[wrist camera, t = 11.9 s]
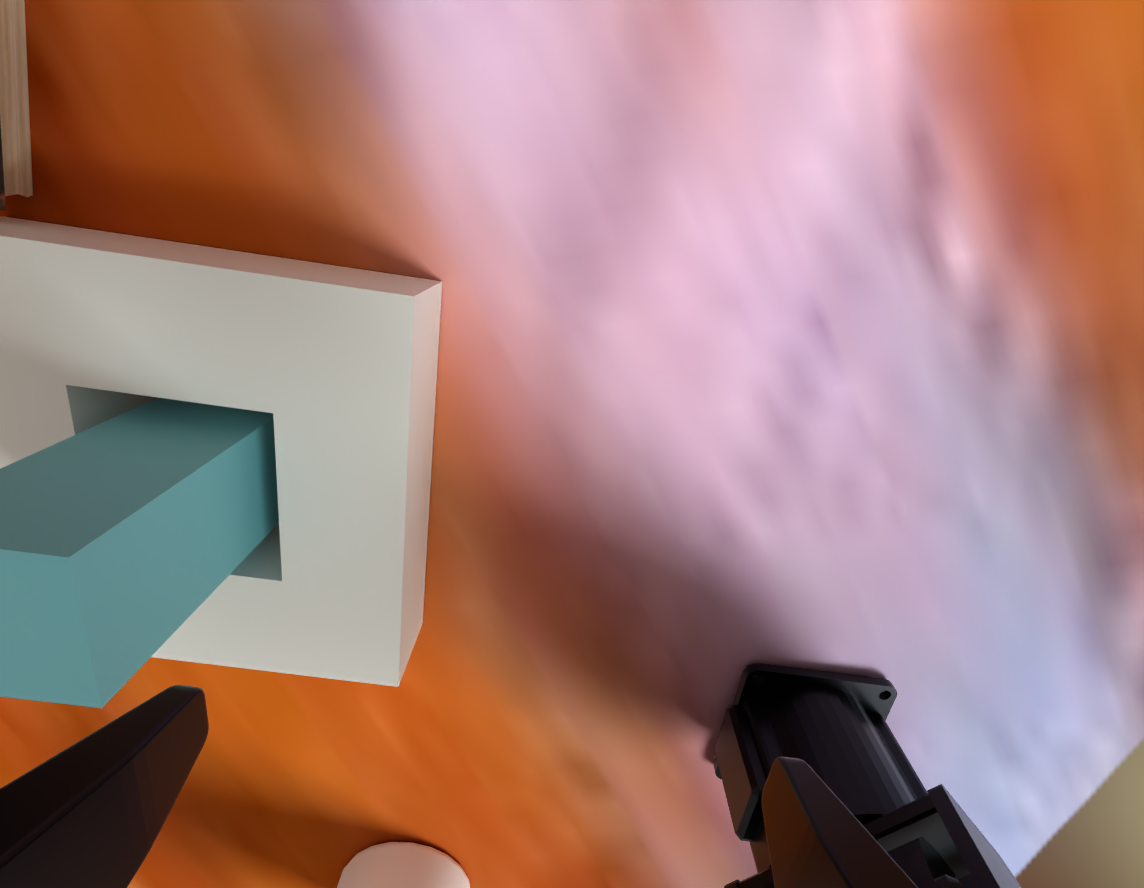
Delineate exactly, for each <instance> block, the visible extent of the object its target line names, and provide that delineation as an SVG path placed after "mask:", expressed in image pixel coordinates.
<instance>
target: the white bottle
mask: <svg viewBox="0 0 1144 888" xmlns="http://www.w3.org/2000/svg"><path fill="white" fill-rule="evenodd" d="M337 888H470V883H469V879H468V877H467V875H466V873H465V872H464V870H463V868H462V867H461V865H459V864H458V863H457V862H456V861H455V860H453V859H452V858H451V857H450V856H449V855H447V854H445V853H443V852H441V851H439V850H436V849H434V848H432V847H430V846H425V845H421V844H416V843H412V842H387V843H383V844H378V845H373V846H370V847H369V848H367V849H365V850H363V851H361V852H359V853H357V854H356V855H355V856H354V857H353V859H352V860H351V861H350V862H349V863H348V864H347V865H346V867H345V868H344V869H343V872H342V874H341V877H340V880H339V883H338V885H337Z"/></svg>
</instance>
